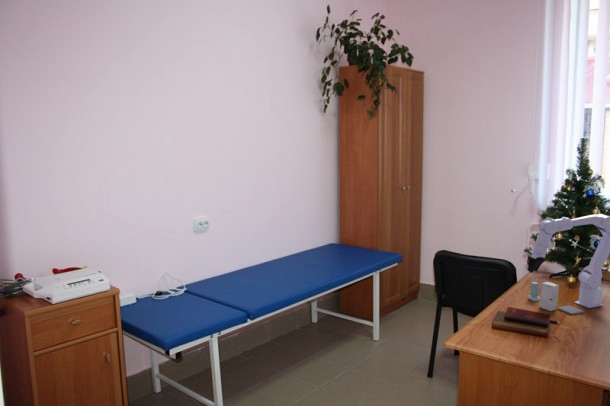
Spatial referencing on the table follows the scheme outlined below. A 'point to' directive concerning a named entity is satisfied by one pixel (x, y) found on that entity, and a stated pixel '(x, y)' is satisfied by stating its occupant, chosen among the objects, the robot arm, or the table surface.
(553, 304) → the skincare box
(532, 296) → the pusher tool
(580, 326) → the table surface
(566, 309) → the rubber mat
